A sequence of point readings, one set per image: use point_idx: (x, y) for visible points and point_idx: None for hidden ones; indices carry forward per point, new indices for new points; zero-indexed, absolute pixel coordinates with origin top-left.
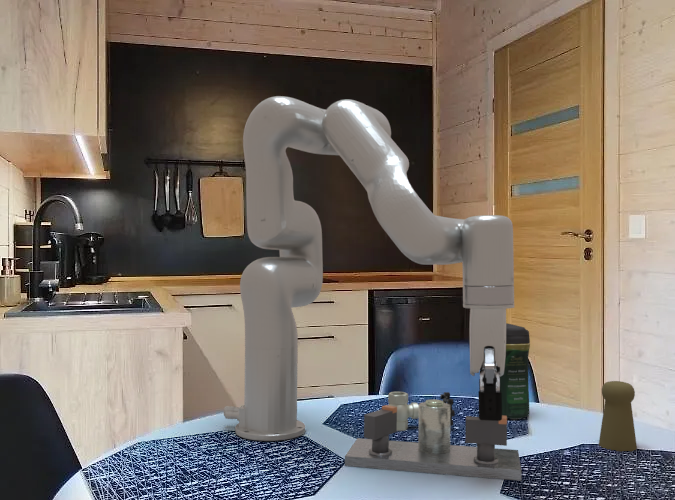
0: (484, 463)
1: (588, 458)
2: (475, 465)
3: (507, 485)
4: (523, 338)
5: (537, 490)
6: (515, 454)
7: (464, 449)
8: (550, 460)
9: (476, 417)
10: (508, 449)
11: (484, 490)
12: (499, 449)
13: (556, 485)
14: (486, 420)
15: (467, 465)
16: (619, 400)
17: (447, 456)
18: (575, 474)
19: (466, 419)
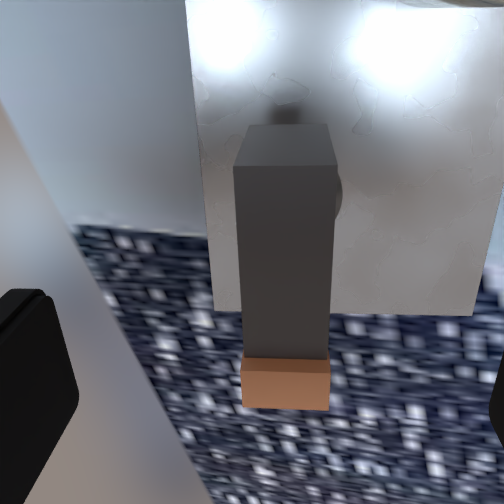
0: None
1: (493, 471)
2: (214, 153)
3: (159, 248)
4: None
5: (150, 324)
6: (407, 303)
7: (459, 89)
8: (461, 383)
9: (312, 239)
10: (478, 283)
11: (78, 177)
12: (474, 249)
13: (213, 371)
14: (247, 297)
15: (200, 118)
16: None
17: (315, 3)
18: (327, 423)
19: (233, 172)
